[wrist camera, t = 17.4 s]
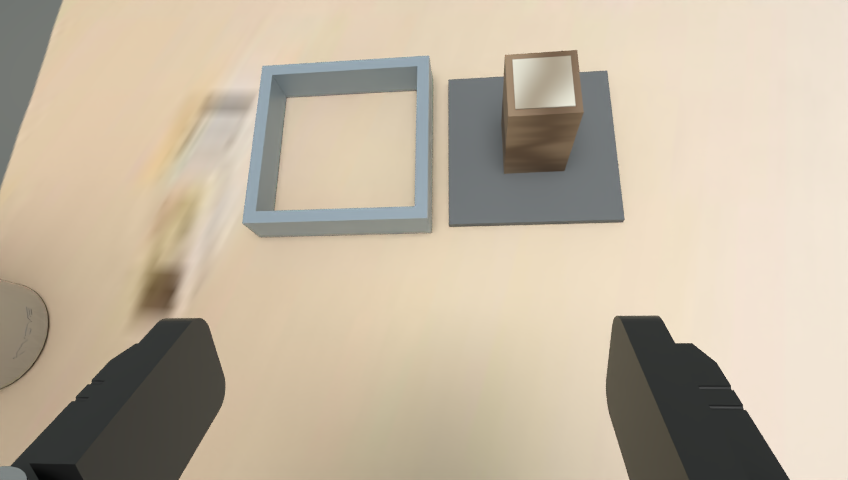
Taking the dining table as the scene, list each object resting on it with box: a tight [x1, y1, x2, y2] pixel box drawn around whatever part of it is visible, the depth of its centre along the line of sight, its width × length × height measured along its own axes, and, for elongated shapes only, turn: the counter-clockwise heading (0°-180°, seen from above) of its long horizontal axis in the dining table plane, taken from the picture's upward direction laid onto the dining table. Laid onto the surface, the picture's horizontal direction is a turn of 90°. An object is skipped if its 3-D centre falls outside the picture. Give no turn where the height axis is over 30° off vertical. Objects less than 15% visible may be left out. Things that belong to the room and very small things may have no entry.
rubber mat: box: [449, 71, 624, 227], centre depth 45 cm, size 14×14×1 cm
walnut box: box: [501, 50, 584, 174], centre depth 40 cm, size 5×5×9 cm
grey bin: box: [242, 56, 433, 237], centre depth 45 cm, size 15×15×4 cm
